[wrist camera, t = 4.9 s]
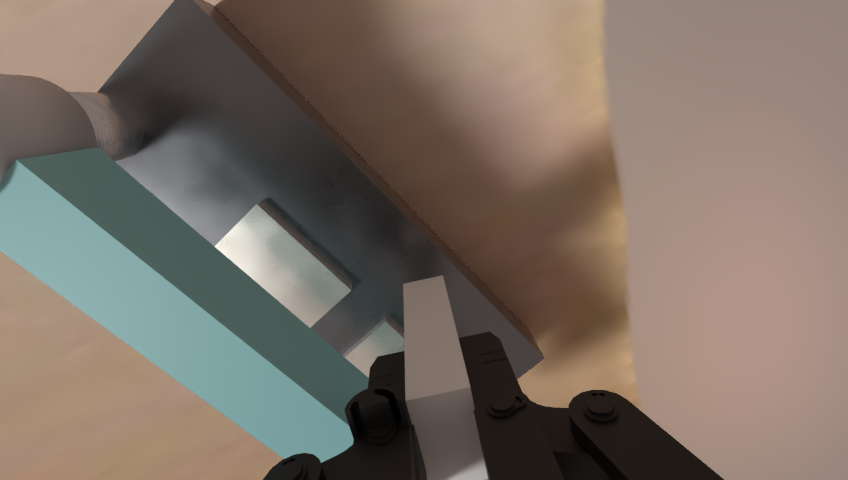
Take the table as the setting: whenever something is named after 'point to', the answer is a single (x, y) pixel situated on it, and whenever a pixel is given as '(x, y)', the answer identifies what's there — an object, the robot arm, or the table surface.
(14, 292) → the table surface
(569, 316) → the table surface
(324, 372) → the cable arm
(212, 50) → the plate
